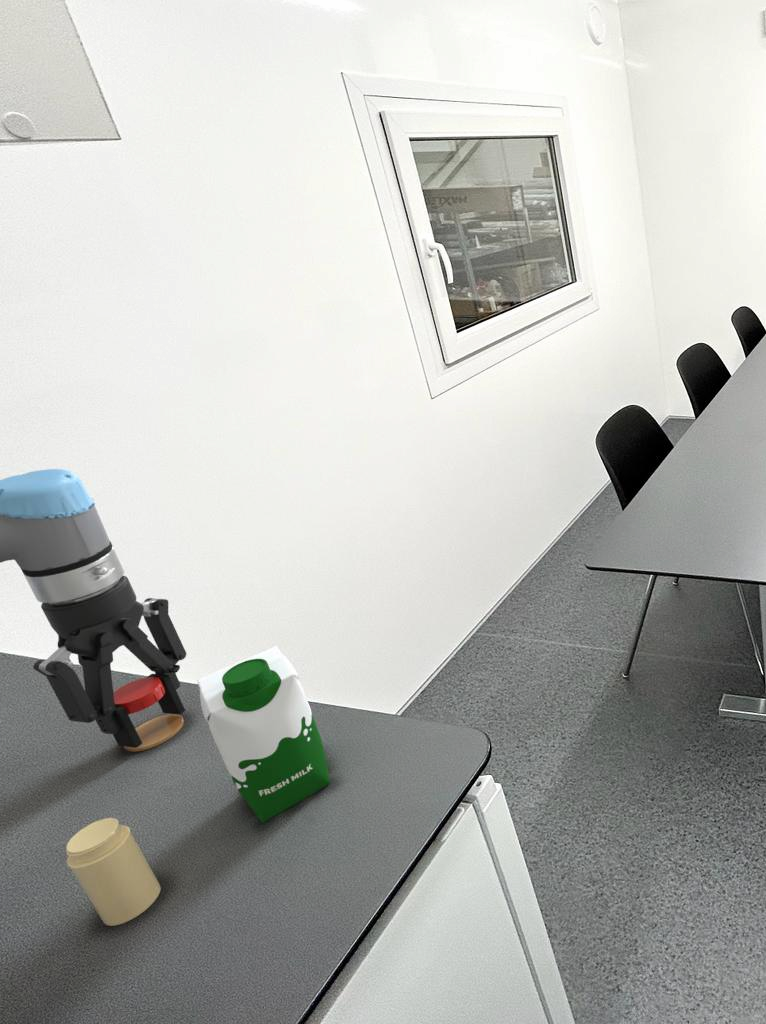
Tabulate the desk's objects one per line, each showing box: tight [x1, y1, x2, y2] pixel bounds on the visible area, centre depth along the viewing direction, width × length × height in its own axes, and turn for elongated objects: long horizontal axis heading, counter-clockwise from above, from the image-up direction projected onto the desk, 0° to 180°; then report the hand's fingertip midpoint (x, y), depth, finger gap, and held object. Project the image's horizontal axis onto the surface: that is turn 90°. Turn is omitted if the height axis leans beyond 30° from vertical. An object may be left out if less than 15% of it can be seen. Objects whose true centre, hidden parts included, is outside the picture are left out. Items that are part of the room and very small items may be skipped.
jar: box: [65, 817, 162, 927], centre depth 65 cm, size 4×4×11 cm
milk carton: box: [196, 645, 331, 824], centre depth 76 cm, size 9×9×20 cm
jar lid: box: [113, 676, 165, 715], centre depth 84 cm, size 5×5×2 cm
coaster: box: [123, 713, 185, 753], centre depth 87 cm, size 6×6×1 cm
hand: (153, 727), depth 86 cm, fingers closed on jar lid, 5 cm apart
